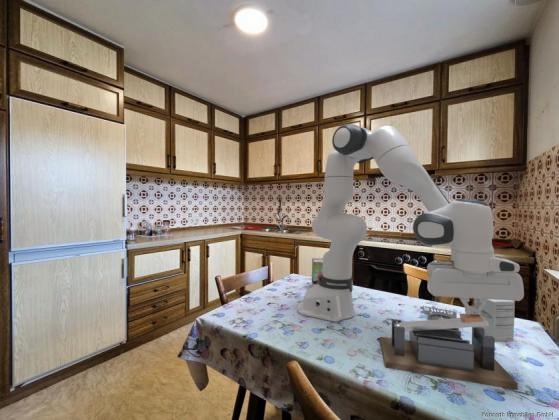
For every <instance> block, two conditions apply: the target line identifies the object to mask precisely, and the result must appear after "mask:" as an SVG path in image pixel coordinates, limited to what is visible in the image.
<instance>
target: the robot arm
mask: <svg viewBox="0 0 559 420" xmlns="http://www.w3.org/2000/svg"><path fill="white" fill-rule="evenodd" d="M331 143H332V147H333V148H334V150H333V151H331V152H330V153H329V154H328V156H327V159H326V163H325V171H324V183H323V184H324V186H323V187H324V188H323V198H322V202H321V205H320V209H319V211H318V213H317V214H316V215H315V217H314V218H313V219H312V222H311V230H312V232H313V234H314V235H316V236H317V237H319V238H321V239H324V240H329V241H331V242H330V247H329V250H328V251H327V252H325V253H324V254H323V255H322V256H323V257H322V258H323V274H322V273H319V274H318V276H317V277H318V279H317V282H318V284H317V285H315V286H314V287H312V286H311V288H309V289H308V290H307V291H306V292H305V294H304V296H303V300H301V301H300V302H299V304H298V305H297V313H298V314H299V315H303V316H306V317H312V318H315V319H320V320H326V321H329V322H333V323H335V322H336V323H337V322H340V321H342V320H348V319H350V318H351V319H352V318H353V317H354V316H355V315H356V310H355V307H354V302H353V301H354V300H353V290H354V287H353V285H354V283H353V281H354V280H353V276H352V265H353V263H352V262H353V255H354V252H355V250H356V248H357V246H358V245H359V243H361V242H362V241H363V240H364V239H365V237H366V236H367V233H368V226H367V223H366V221H365V219H364V218H363V217H361V216H358V215H357V214H356V215H355V214H352V213H344V211H345V209H346V207H347V204H348V203H349V202H350V201H352V199H353V198H354V197H353V196H354V170H355V166H356V164H360V165H361V164H364V163H365V162H368V161H371V160H374V161H375V164H376V165H377V167H378V169H379V171H380V172H381V174H382V175H383V176H384V177H385V178H386V180H387V181H389V182H391V183H393V184H396V185H399V186H402V187H404V188H406V189H408V190H409V191H411V192H413V193H414V194H415V195H416V196H417V197H418V198H419V200H420V201H421V203H422V204H423V205H424V207H425V209H426V210H427V212H424V213H421V214H419V215H418V216H417V217H416V218H415V219H414V221H413V224H412V230H413V234H414V237H415V238H416V239H417V240H418V241H419V242H420V243H421V244H424V245H428V246H439V245H449V246H450V260H433V261H432V262H429V263H428V264H427V266H426V273H427V275H428V276H427V290H428V292H429V293H430V294H431V295H432V296H433V297H444V298H459V300H460V302H461V303H462V305H463V307H464V312H465V313H464V314H467V315H480V316H481V309H482V308H483V307H484V306H485V304H486V299H493V300H511V301H515V302H516V301H517V302H520V301H522V300H523V299H524V296H525V291H524V289H525V288H524V282H523V278H522V276H521V275H520V274H519V272H520V264H518V263H517V262H515V261H512V260H509V259H506V258H504V257H500V256H497V255H495V248H494V247H493V242H492V241H493V237H494V234H495V232H494V229H495V228H494V219H493V213H492V209H491V206H490V205H489V204H488V203H487V202H485V201H483V200H478V199H472V198H471V199H469V198H456V199H453V200H451V202H450V200H449V199H448V198H447V196H445V194H444V193H443V191H442V190H441V188H440V187H439V186H438V184H437V183H436V182H435V180H434V179H433V178H432V177H431V175H430V174H429V173H428V171H427V170H426V169H425V166H423V165H422V163H421V162H420V160H419V159H418V157H417V156H416V154H415V152H414V150H413V149H412V147H411V146H410V145H409V143H408V141H407V139H405V137H404V136H403V135H402V134H401V132H399V130H397V129H396V128H395V127H394V126H391V125H382V126H380V127H378V128H376V129H374V130H373V131H372V130H369V129H368V128H365V127H361V126H359V125H356V124H352V123H346V124H342V125H339V127H337V129H335V131H334V133H333V135H332V139H331ZM474 298H476V300H477V301H478V302H477V303H476V305H475V306H474V305H469V302H470V299H474Z"/></svg>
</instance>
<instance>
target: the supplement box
mask: <svg viewBox="0 0 559 420" xmlns="http://www.w3.org/2000/svg"><path fill="white" fill-rule="evenodd" d="M473 301H474V302H473V303H474V304H473V306H475V305H476V303H477V302H478V301H477V300H476V298H473ZM515 303H516V301H511V300H493V299H486V304H485V306H484V307H483V308H482V309H481V316H482V317H484V318H485V319H486V320H487V321H488V323H489V326H482V327H483V328H484V329H485V336H493V337H494V338H495V342H508V341H509V342H511V341H514V338H515V337H514V335H515V334H514V333H515V307H516V306H515Z"/></svg>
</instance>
